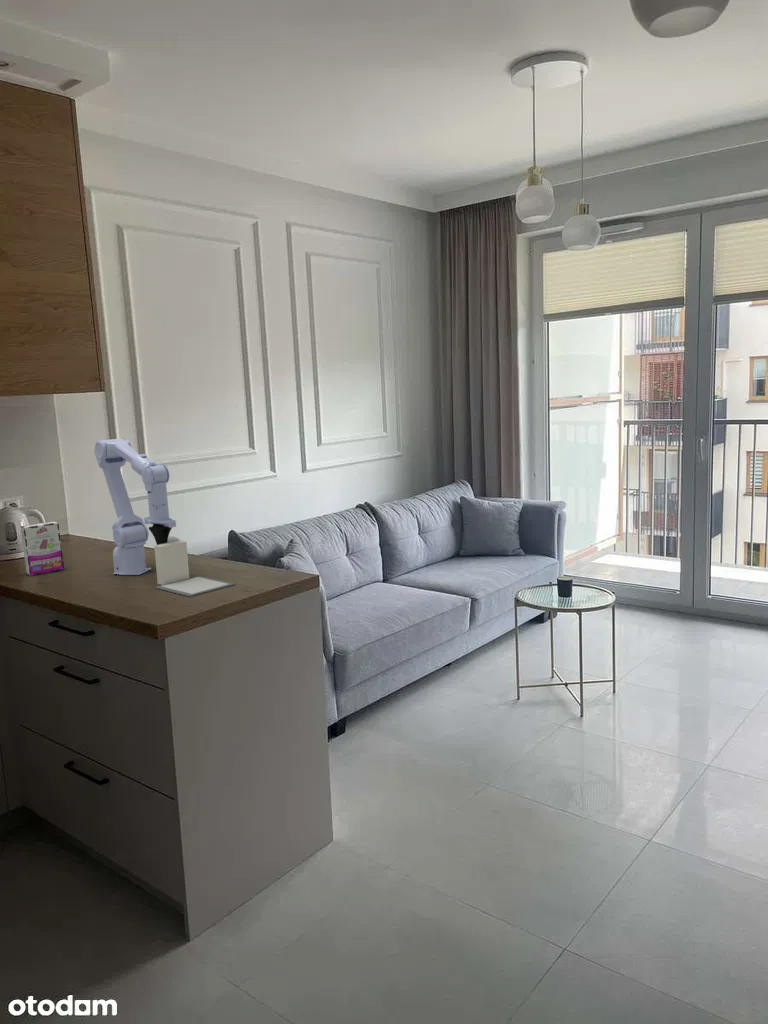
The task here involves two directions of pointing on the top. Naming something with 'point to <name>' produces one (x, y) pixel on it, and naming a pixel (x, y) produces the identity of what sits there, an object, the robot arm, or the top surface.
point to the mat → (194, 586)
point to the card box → (171, 562)
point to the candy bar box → (42, 548)
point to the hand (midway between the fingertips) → (162, 548)
